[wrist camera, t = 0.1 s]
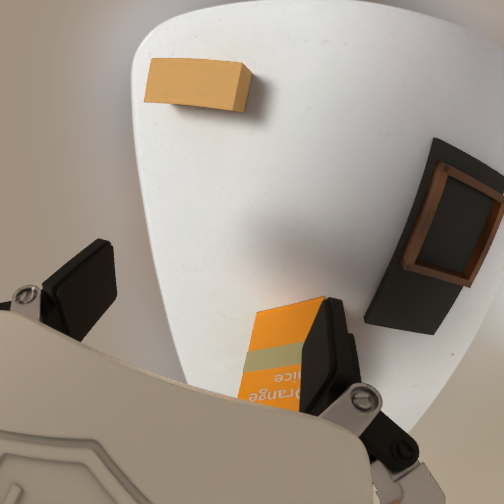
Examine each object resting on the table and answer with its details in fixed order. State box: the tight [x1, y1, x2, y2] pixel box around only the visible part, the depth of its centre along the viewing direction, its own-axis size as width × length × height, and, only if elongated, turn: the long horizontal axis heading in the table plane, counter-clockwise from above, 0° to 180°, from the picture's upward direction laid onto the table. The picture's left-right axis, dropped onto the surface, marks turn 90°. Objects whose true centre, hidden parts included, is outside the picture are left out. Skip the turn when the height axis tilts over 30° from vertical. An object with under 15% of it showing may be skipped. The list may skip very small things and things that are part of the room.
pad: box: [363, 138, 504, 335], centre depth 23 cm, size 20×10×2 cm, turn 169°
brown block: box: [144, 58, 252, 112], centre depth 19 cm, size 4×7×4 cm, turn 79°
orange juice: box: [237, 296, 325, 412], centre depth 22 cm, size 8×9×20 cm
